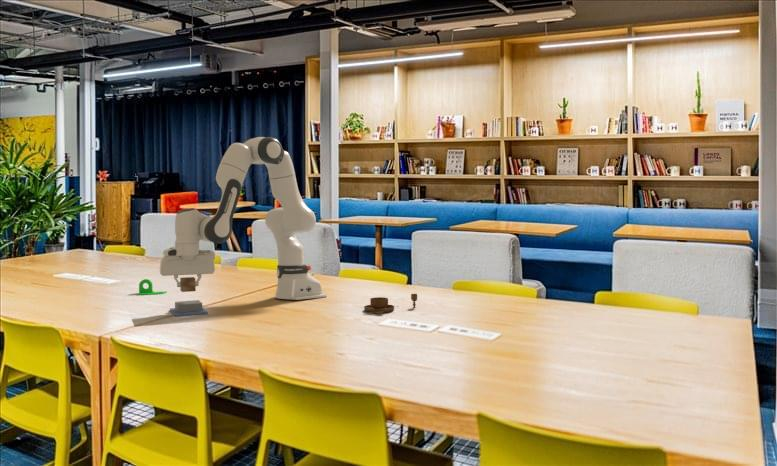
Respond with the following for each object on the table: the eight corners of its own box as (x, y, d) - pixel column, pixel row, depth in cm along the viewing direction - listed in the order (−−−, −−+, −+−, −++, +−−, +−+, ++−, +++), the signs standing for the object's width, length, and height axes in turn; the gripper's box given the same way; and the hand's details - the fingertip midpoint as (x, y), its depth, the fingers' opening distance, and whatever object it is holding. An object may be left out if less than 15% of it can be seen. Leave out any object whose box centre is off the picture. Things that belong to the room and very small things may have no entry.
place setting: (370, 306, 270) (370, 292, 270) (418, 308, 266) (418, 293, 266) (359, 314, 253) (358, 298, 253) (410, 315, 249) (410, 299, 249)
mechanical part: (137, 298, 298) (137, 280, 298) (140, 296, 304) (139, 279, 304) (165, 297, 300) (165, 279, 300) (167, 295, 306) (167, 278, 306)
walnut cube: (193, 289, 260) (193, 277, 260) (195, 291, 255) (195, 278, 255) (180, 290, 258) (180, 277, 258) (182, 291, 253) (181, 278, 253)
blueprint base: (201, 308, 267) (201, 298, 267) (207, 314, 252) (207, 304, 252) (170, 310, 262) (169, 300, 262) (174, 316, 247) (174, 306, 247)
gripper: (213, 249, 263) (213, 284, 264) (158, 251, 255) (159, 286, 255) (216, 250, 257) (216, 285, 258) (160, 252, 249) (161, 288, 249)
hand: (187, 286), depth 257 cm, fingers closed on walnut cube, 5 cm apart
